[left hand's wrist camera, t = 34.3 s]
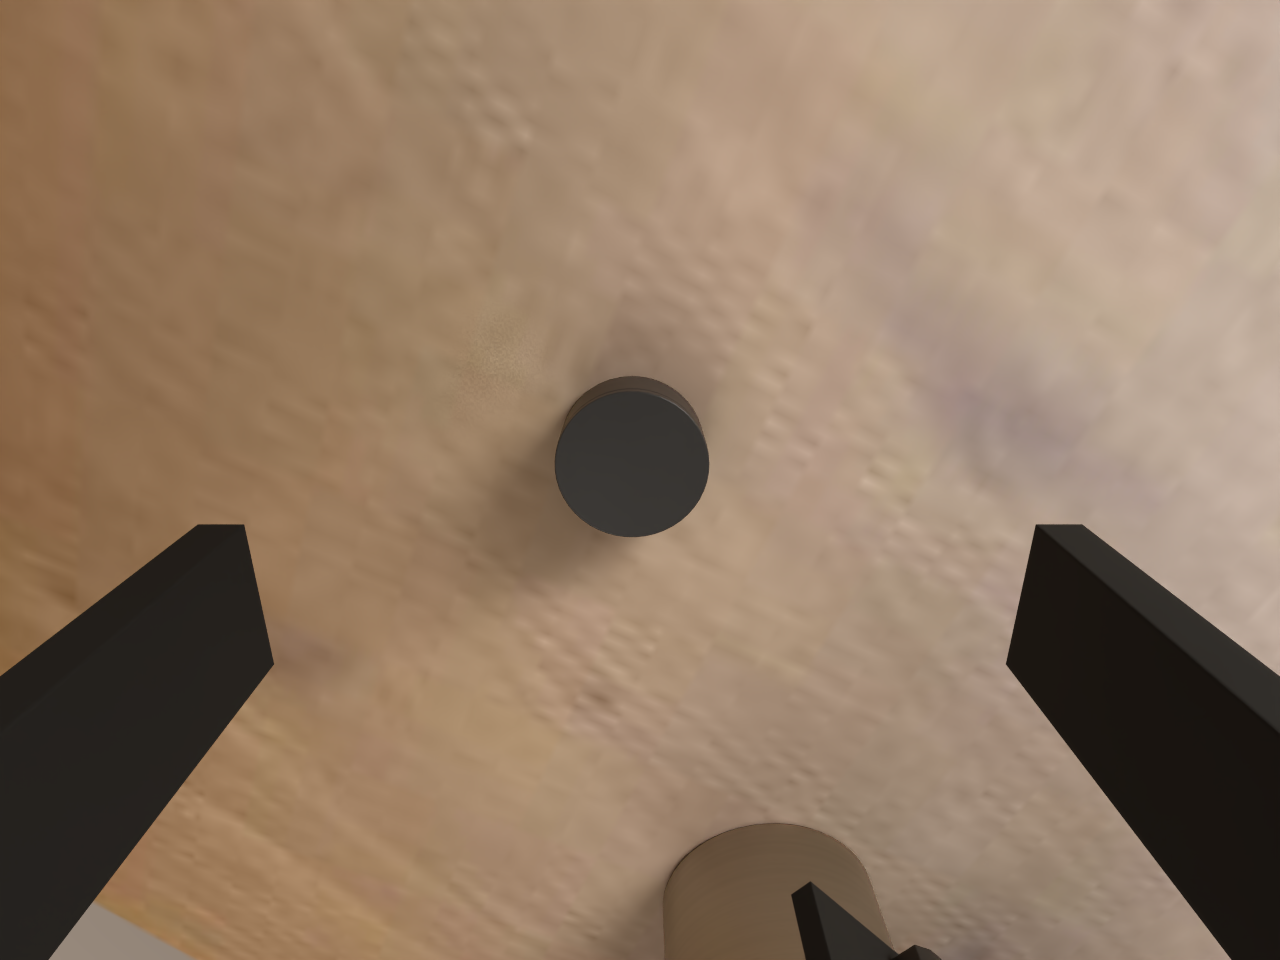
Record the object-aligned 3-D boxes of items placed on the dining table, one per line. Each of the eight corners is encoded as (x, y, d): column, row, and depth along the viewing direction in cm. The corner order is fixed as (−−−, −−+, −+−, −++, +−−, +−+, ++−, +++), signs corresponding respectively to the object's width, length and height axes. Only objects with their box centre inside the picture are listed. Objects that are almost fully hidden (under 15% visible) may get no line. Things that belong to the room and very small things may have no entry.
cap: (587, 355, 22) (582, 369, 20) (724, 403, 22) (732, 421, 20) (543, 486, 23) (535, 510, 21) (673, 528, 23) (677, 556, 22)
